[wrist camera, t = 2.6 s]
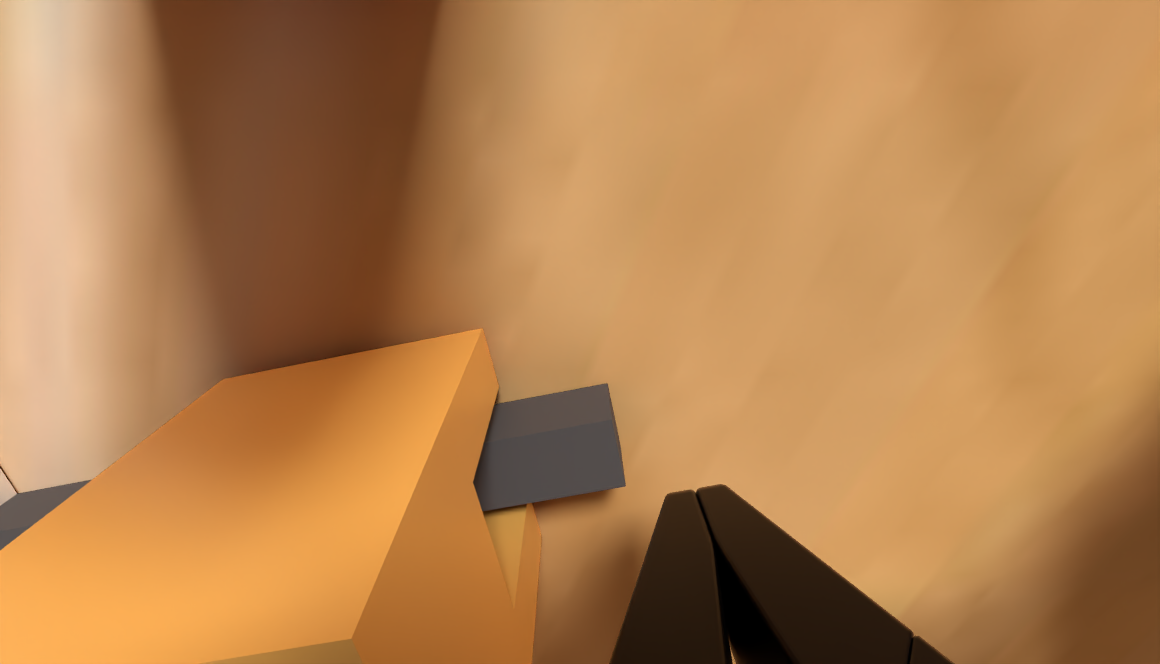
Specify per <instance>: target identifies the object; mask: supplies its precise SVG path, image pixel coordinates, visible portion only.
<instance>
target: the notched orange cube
mask: <svg viewBox="0 0 1160 664" xmlns="http://www.w3.org/2000/svg"><path fill="white" fill-rule="evenodd" d="M498 389H499V384H498V381H497V377H496V374H495V370H494V367H493V363H492V360H491V356H490V353H489V349H488V346H487V342H486V339H485V335H484V332H483V328H481V329H476V330H471V331H466V332H461V333H456V334H450V335H445V336H440V337H435V338H430V339H425V340H420V341H415V342H410V343H405V344H399V345H394V346H389V347H384V348H379V349H374V350H369V351H364V352H359V353H354V354H349V355H343V356H338V357H333V358H328V359H323V360H318V361H313V362H308V363H303V364H298V365H292V366H287V367H282V368H277V369H272V370H267V371H262V372H257V373H252V374H247V375H242V376H236V377H231V378H226V379H223V380H221V381H220V382H219V383H218V384H216V385H215V386H214V387H212V388H211V389H210V390H208V391H207V392H206V393H204V394H203V395H202V396H201V397H199V398H198V399H197V400H195V401H194V402H193V403H191V404H190V405H189V406H188V407H186V408H185V409H184V410H182V411H181V412H180V413H178V414H177V415H176V416H175V417H173V418H172V419H171V420H169V421H168V422H167V423H165V424H164V425H163V426H162V427H160V428H159V429H158V430H156V431H155V432H154V433H152V434H151V435H150V436H149V437H147V438H146V439H145V440H143V441H142V442H141V443H139V444H138V445H137V446H136V447H134V448H133V449H132V450H130V451H129V452H128V453H126V454H125V455H124V456H122V457H121V458H120V459H119V460H117V461H116V462H115V463H113V464H112V465H111V466H109V467H108V468H107V469H106V470H104V471H103V472H102V473H100V474H99V475H98V476H96V477H95V478H94V479H93V480H91V481H90V482H89V483H87V484H86V485H85V486H83V487H82V488H81V489H80V490H78V491H77V492H76V493H74V494H73V495H72V496H70V497H69V498H68V499H67V500H65V501H64V502H63V503H61V504H60V505H59V506H57V507H56V508H55V509H54V510H52V511H51V512H50V513H48V514H47V515H46V516H44V517H43V518H42V519H40V520H39V521H38V522H37V523H35V524H34V525H33V526H31V527H30V528H29V529H27V530H26V531H25V532H24V533H22V534H21V535H20V536H18V537H17V538H16V539H14V540H13V541H12V542H11V543H9V544H8V545H7V546H5V547H4V548H3V549H1V550H0V664H532V656H533V644H534V631H535V618H536V605H537V593H538V580H539V567H540V554H541V541H542V536H541V533H540V529H539V525H538V522H537V518H536V515H535V511H534V508H533V504H532V503H528V504H522V505H516V506H510V507H505V508H499V509H493V510H488V511H482V509H481V506H480V503H479V500H478V496H477V493H476V490H475V487H474V484H473V480H474V476H475V472H476V469H477V465H478V462H479V458H480V454H481V451H482V447H483V443H484V440H485V436H486V432H487V429H488V425H489V421H490V418H491V414H492V411H493V407H494V403H495V400H496V396H497V392H498Z"/></svg>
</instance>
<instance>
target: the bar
mask: <svg viewBox="0 0 1160 664" xmlns="http://www.w3.org/2000/svg"><path fill="white" fill-rule="evenodd" d="M90 481H91V480H89V481H83V482H78V483H72V484H67V485H62V486H56V487H51V488H46V489H40V490H35V491H30V492H24V493H19V494H16V495H15V496H13V497H12V498H11V499H9V500H8V501H6V502H5V503H3V504H2V505H0V550H1V549H3V548H4V547H5V546H7V545H8V544H9V543H11V542H12V541H13V540H14V539H16V538H17V537H18V536H20V535H21V534H22V533H24V532H25V531H26V530H27V529H29V528H30V527H31V526H33V525H34V524H35V523H37V522H38V521H39V520H40V519H42V518H43V517H44V516H46V515H47V514H48V513H50V512H51V511H52V510H54V509H55V508H56V507H57V506H59V505H60V504H61V503H63V502H64V501H65V500H67V499H68V498H69V497H70V496H72V495H73V494H74V493H76V492H77V491H78V490H80V489H81V488H82V487H83V486H85V485H86V484H87V483H89V482H90ZM473 484H474V487H475V490H476V493H477V496H478V500H479V503H480V506H481V509H482V511H488V510H493V509H499V508H505V507H510V506H516V505H522V504H528V503H533V502H539V501H545V500H550V499H556V498H562V497H568V496H573V495H579V494H585V493H590V492H596V491H602V490H608V489H613V488H619V487H625V486H626V485H625V477H624V470H623V462H622V455H621V447H620V441H619V436H618V432H617V427H616V422H615V417H614V412H613V408H612V403H611V398H610V393H609V388H608V384H601V385H596V386H591V387H585V388H580V389H575V390H569V391H564V392H559V393H553V394H548V395H543V396H537V397H532V398H527V399H521V400H516V401H511V402H505V403H500V404H495V405H494V407H493V411H492V414H491V418H490V421H489V425H488V429H487V432H486V436H485V440H484V443H483V447H482V451H481V454H480V458H479V462H478V465H477V469H476V472H475V476H474V480H473Z"/></svg>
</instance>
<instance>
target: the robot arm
mask: <svg viewBox="0 0 1160 664" xmlns="http://www.w3.org/2000/svg"><path fill="white" fill-rule="evenodd" d="M729 643H730V644H729ZM730 647H731V650H732V653H733V656H734V659H735V662H736V664H954V663H953V662H952V661H950V660H949V659H948V658H946V657H945V656H944V655H943V654H941V653H940V652H939V651H937V650H936V649H935V648H934V647H932V646H931V645H930V644H928V643H927V642H926V641H925V640H923V639H922V638H921V637H919V636H914V634H913V632H912V631H911V630H910V629H909V628H908V627H906V626H905V625H904V624H903V623H901V622H900V621H899V620H897V619H896V618H895V617H894V616H892V615H891V614H890V613H888V612H887V611H886V610H885V609H883V608H882V607H881V606H879V605H878V604H877V603H876V602H874V601H873V600H872V599H871V598H869V597H868V596H867V595H865V594H864V593H863V592H862V591H860V590H859V589H858V588H856V587H855V586H854V585H853V584H851V583H850V582H849V581H847V580H846V579H845V578H844V577H842V576H841V575H840V574H839V573H837V572H836V571H835V570H833V569H832V568H831V567H830V566H828V565H827V564H826V563H824V562H823V561H822V560H821V559H819V558H818V557H817V556H815V555H814V554H813V553H812V552H810V551H809V550H808V549H807V548H805V547H804V546H803V545H801V544H800V543H799V542H798V541H796V540H795V539H794V538H792V537H791V536H790V535H789V534H787V533H786V532H785V531H783V530H782V529H781V528H780V527H778V526H777V525H776V524H775V523H773V522H772V521H771V520H769V519H768V518H767V517H766V516H764V515H763V514H762V513H760V512H759V511H758V510H757V509H755V508H754V507H753V506H751V505H750V504H749V503H748V502H746V501H745V500H744V499H743V498H741V497H740V496H739V495H737V494H736V493H735V492H734V491H732V490H731V489H730V488H728V487H727V486H726V485H723V484H719V485H713V486H707V487H702V488H698V489H697V491H696V493H695V492H694V491H693V490H684V491H679V492H673V493H669V494H667V495H666V497H665V499H664V502H663V505H662V508H661V511H660V514H659V517H658V520H657V523H656V526H655V529H654V532H653V535H652V538H651V541H650V544H649V547H648V550H647V553H646V556H645V559H644V562H643V565H642V567H641V570H640V573H639V576H638V579H637V582H636V585H635V588H634V591H633V594H632V597H631V600H630V603H629V606H628V609H627V612H626V615H625V618H624V621H623V624H622V627H621V630H620V633H619V636H618V639H617V642H616V645H615V648H614V651H613V654H612V657H611V660H610V663H609V664H733V663H732V657H731V650H730Z"/></svg>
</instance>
